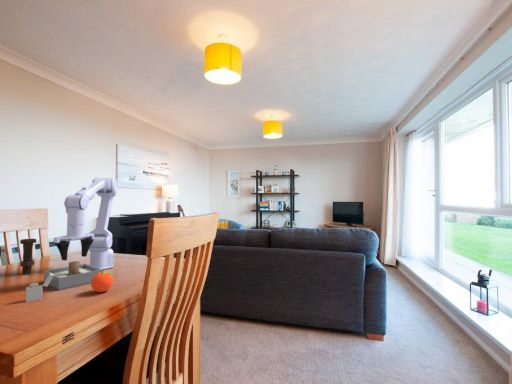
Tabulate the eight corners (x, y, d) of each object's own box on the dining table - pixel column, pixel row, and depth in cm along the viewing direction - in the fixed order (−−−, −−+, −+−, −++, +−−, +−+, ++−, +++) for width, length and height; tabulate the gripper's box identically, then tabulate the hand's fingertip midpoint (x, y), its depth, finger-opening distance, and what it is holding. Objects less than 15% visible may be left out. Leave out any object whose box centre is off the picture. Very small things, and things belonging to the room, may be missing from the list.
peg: (75, 278, 107) (76, 261, 108) (80, 279, 106) (81, 262, 106) (66, 280, 104) (66, 262, 104) (71, 281, 103) (72, 263, 103)
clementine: (111, 286, 100) (111, 267, 100) (119, 290, 95) (119, 271, 96) (87, 291, 94) (88, 272, 94) (94, 296, 89) (95, 275, 89)
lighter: (25, 302, 84) (26, 276, 84) (25, 300, 85) (26, 275, 85) (53, 297, 88) (54, 273, 89) (53, 295, 90) (54, 272, 90)
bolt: (24, 275, 111) (25, 240, 112) (15, 274, 112) (16, 240, 113) (38, 272, 117) (39, 238, 118) (29, 271, 118) (30, 238, 119)
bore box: (85, 273, 116) (86, 263, 116) (102, 280, 106) (102, 269, 107) (43, 282, 104) (44, 270, 104) (58, 290, 94) (59, 278, 94)
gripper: (87, 222, 114) (86, 253, 114) (49, 225, 101) (48, 260, 100) (97, 223, 111) (96, 255, 111) (60, 226, 98) (59, 262, 97)
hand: (74, 258), depth 105 cm, fingers open, 7 cm apart
